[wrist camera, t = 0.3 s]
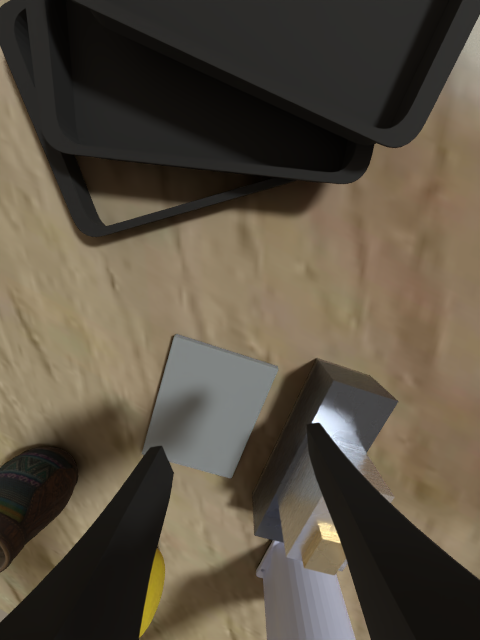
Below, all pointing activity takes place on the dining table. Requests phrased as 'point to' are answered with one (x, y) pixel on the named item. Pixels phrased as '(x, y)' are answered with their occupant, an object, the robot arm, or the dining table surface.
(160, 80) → the stack of dark trays
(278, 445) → the body
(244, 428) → the mat
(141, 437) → the dining table surface
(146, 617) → the lemon
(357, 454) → the pale grey block
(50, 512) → the mate gourd
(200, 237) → the dining table surface
